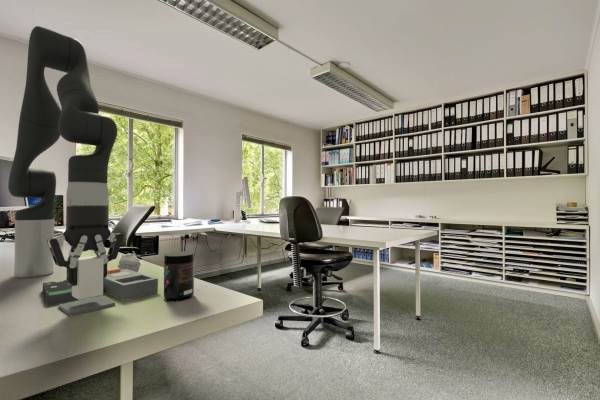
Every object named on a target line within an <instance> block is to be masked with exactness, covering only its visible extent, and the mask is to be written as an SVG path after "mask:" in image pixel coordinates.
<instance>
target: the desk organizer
mask: <svg viewBox="0 0 600 400" xmlns="http://www.w3.org/2000/svg"><path fill="white" fill-rule="evenodd" d="M158 287H159V278H157V277H154V276H151V275H148V274H145V273H142V272H139V271H138V272H135V271H132V270H128V269H122V270H121V269H120V268H118V267H115V268H107V277H106V278H104V281H103V293H106V294H108V295H110V296H113V297H114V298H117V299H120V300H121V301H127V300H131V299H136V298H140V297H144V296H149V295H153V294H157V293H159V288H158Z"/></svg>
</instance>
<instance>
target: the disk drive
mask: <svg viewBox="0 0 600 400" xmlns="http://www.w3.org/2000/svg"><path fill="white" fill-rule="evenodd" d="M42 294H43V296H44V301H45V304H46V306H53V305H57V304H58V305H60V304H65V303H70V302H74V301H79V300H78V299H76V298H75V297H73V296H72V286H71V285H70V284H69V283H67V281H66V279H64V280H62V281H49V282H43V283H42ZM100 296H102V295H100ZM95 297H97V296H95ZM90 298H93V297H90ZM86 299H88V298H86ZM81 300H83V299H81Z"/></svg>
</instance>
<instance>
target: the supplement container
mask: <svg viewBox="0 0 600 400" xmlns="http://www.w3.org/2000/svg"><path fill="white" fill-rule="evenodd" d="M194 283H195V252H193V251H173V252H172V251H171V252H166V253H164V254H163V298H164V300H165V301H167V302H182V301H186V300H189V299H191V298H193V296H194V294H195V284H194Z"/></svg>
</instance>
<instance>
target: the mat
mask: <svg viewBox="0 0 600 400" xmlns="http://www.w3.org/2000/svg"><path fill="white" fill-rule="evenodd" d="M114 306H116V302H115V301H113V300H111V299H109V298H106V297H104V296H103V295H101V296H97V297H93V298H87V299H82V300H76V301H71V302H65V303H59V304H58V307H57V308H58V309H59V310H61V311H62V312H64V313H65V314H66V315H68V316H70V317H73V316H77V315H83V314H86V313H90V312H95V311H98V310H102V309H105V308H106V309H107V308H110V307H114Z"/></svg>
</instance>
